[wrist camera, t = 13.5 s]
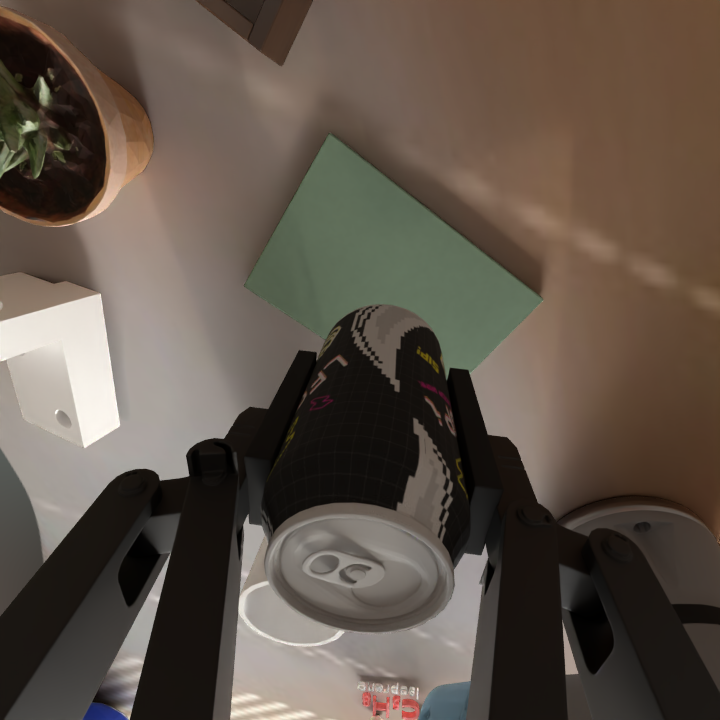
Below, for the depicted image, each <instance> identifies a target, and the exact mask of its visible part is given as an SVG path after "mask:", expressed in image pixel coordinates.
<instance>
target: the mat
mask: <svg viewBox="0 0 720 720" xmlns="http://www.w3.org/2000/svg"><path fill="white" fill-rule="evenodd" d="M244 287H246V288H247V289H249V290H250V291H252V292H253V293H255V294H256V295H258V296H259V297H261V298H262V299H264V300H265V301H267V302H268V303H270V304H272V305H273V306H275V307H276V308H278V309H279V310H281V311H282V312H284V313H285V314H287V315H288V316H290V317H291V318H293V319H294V320H296V321H297V322H299V323H301V324H302V325H304V326H305V327H307V328H308V329H310V330H311V331H313V332H314V333H316V334H317V335H319V336H320V337H322V338H323V339H325V340H326V338H327V336H328V334H329V332H330V330H331V329H332V328H333V327H334V325H335V324H336V323H337V322H338V321H339V320H340V319H341V318H343V317H344V316H345V315H346V314H348V313H350V312H352V311H354V310H356V309H358V308H361V307H365V306H368V305H377V304H385V305H394V306H398V307H401V308H405V309H407V310H409V311H411V312H413V313H415V314H417V315H418V316H419V317H420V318H422V319H423V320H424V321H426V323H427V324H428V325H429V326H430V327H431V329H432V330H433V331H434V333H435V335H436V337H437V339H438V341H439V344H440V347H441V351H442V356H443V362H444V367H445V373H446V378H447V379H448V374H449V369H450V368H458V369H467V370H469V374H470V373H471V372H472V371H473V370H474V369H475V368H476V367H477V366H478V365H479V364H480V363H481V362H482V361H483V360H484V359H485V358H486V357H487V356H488V355H489V354H490V353H491V352H492V351H493V350H494V349H495V348H496V347H497V346H498V345H499V344H500V343H501V342H502V341H503V340H504V339H505V338H506V337H507V336H508V335H509V334H510V333H511V332H512V331H513V330H514V329H515V328H516V327H517V326H518V325H519V324H520V323H521V322H522V321H523V320H524V319H525V318H526V317H527V316H528V315H529V314H530V313H531V312H532V311H533V310H534V309H535V308H536V307H537V306H538V305H539V304H540V303H541V302H542V301H543V298H542V297H541V296H539V295H538V294H537V293H536V292H534V291H533V290H532V289H531V288H529V287H528V286H527V285H525V284H524V283H523V282H522V281H520V280H519V279H518V278H516V277H515V276H514V275H513V274H511V273H510V272H509V271H507V270H506V269H505V268H504V267H502V266H501V265H500V264H498V263H497V262H496V261H495V260H493V259H492V258H491V257H489V256H488V255H487V254H486V253H484V252H483V251H482V250H480V249H479V248H478V247H477V246H475V245H474V244H473V243H471V242H470V241H469V240H468V239H466V238H465V237H464V236H462V235H461V234H460V233H459V232H457V231H456V230H455V229H453V228H452V227H451V226H450V225H448V224H447V223H446V222H444V221H443V220H442V219H441V218H439V217H438V216H437V215H435V214H434V213H433V212H432V211H430V210H429V209H428V208H427V207H425V206H424V205H423V204H421V203H420V202H419V201H418V200H416V199H415V198H414V197H412V196H411V195H410V194H409V193H407V192H406V191H405V190H403V189H402V188H401V187H400V186H398V185H397V184H396V183H394V182H393V181H392V180H391V179H389V178H388V177H387V176H385V175H384V174H383V173H382V172H380V171H379V170H378V169H376V168H375V167H374V166H373V165H371V164H370V163H369V162H367V161H366V160H365V159H364V158H362V157H361V156H360V155H358V154H357V153H356V152H355V151H353V150H352V149H351V148H349V147H348V146H347V145H346V144H344V143H343V142H342V141H340V140H339V139H338V138H337V137H335V136H334V135H333V134H331V133H329V134H328V136H327V137H326V139H325V141H324V143H323V145H322V146H321V148H320V150H319V152H318V154H317V155H316V157H315V159H314V161H313V163H312V164H311V166H310V168H309V170H308V171H307V173H306V175H305V177H304V179H303V180H302V182H301V184H300V186H299V188H298V189H297V191H296V193H295V195H294V197H293V198H292V200H291V202H290V204H289V206H288V207H287V209H286V211H285V213H284V215H283V216H282V218H281V220H280V222H279V224H278V225H277V227H276V229H275V231H274V232H273V234H272V236H271V238H270V240H269V241H268V243H267V245H266V247H265V249H264V250H263V252H262V254H261V256H260V258H259V259H258V261H257V263H256V265H255V267H254V268H253V270H252V272H251V274H250V276H249V277H248V279H247V281H246V283H245V284H244Z"/></svg>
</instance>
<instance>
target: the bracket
mask: <svg viewBox="0 0 720 720" xmlns="http://www.w3.org/2000/svg"><path fill="white" fill-rule="evenodd" d="M3 360H6V361H7V365H8V368H9V372H10V375H11V378H12V382H13V385H14V389H15V392H16V396H17V399H18V403H19V406H20V409H21V413H22V416H23V420H25V421H27V422H30V423H32V424H34V425H36V426H38V427H40V428H42V429H44V430H46V431H48V432H51V433H53V434H55V435H57V436H59V437H61V438H63V439H65V440H67V441H69V442H72V443H74V444H76V445H78V446H80V447H82V448H86V447H87V446H89V445H90V444H92V443H94V442H95V441H97V440H98V439H100V438H102V437H103V436H105V435H106V434H108V433H110V432H111V431H113V430H114V429H116V428H118V427H119V426H120V422H119V415H118V408H117V401H116V395H115V388H114V381H113V374H112V367H111V360H110V354H109V347H108V340H107V333H106V326H105V320H104V313H103V306H102V299H101V293H98V292H95V291H93V290H90V289H87V288H84V287H81V286H78V285H76V284H73V283H70V282H67V281H65V282H60V283H56V284H53V283H50V282H47V281H44V280H42V279H39V278H36V277H33V276H30V275H28V274H25V273H22V272H18V273H13V274H8V275H3V276H0V361H3Z"/></svg>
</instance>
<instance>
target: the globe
mask: <svg viewBox="0 0 720 720" xmlns="http://www.w3.org/2000/svg"><path fill="white" fill-rule="evenodd" d="M83 720H129V719H128V717H127V716H126V715H125V714H124V713H122V712H120V711H118V710H117V709H115V708H113V707H111V706H109V705H105V704H103V703H98V702H92V703H91V705H90V706H89V708H88V710H87V712H86V714H85V716H84V718H83Z"/></svg>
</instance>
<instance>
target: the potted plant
mask: <svg viewBox="0 0 720 720" xmlns="http://www.w3.org/2000/svg"><path fill="white" fill-rule="evenodd" d="M153 142H154V138H153V133H152V128H151V123H150V121H149V119H148V117H147V115H146V112H145V110H144V109H143V107H142V106H141V105H140V103H139V102H138V101H137V99H136V98H135V97H133V96H132V95H131V94H130V93H129V92H128V91H126V90H125V89H124V88H123V87H122V86H120V85H119V84H118V83H117V82H115V81H114V80H112V79H111V78H110V77H108V76H107V75H105V74H104V73H103V72H101V71H100V70H99V69H98V68H96V67H95V66H94V65H93V64H92V63H91V62H90V61H89V60H88V58H86V57H85V56H84V55H83V54H82V53H81V52H80V51H79V50H78V49H77V48H75V47H74V46H73V45H72V44H71V42H70V41H69V40H68V39H67V38H66V37H65V35H63V34H61V33H60V32H58V31H57V30H55V29H54V28H52V27H50V26H49V25H46V24H44V23H42V22H40V21H38V20H35V19H33V18H31V17H29V16H27V15H24V14H22V13H20V12H18V11H16V10H13V9H10V8H6V7H3V6H0V210H2V211H3V212H5V213H7V214H9V215H11V216H13V217H16V218H18V219H20V220H23V221H26V222H29V223H32V224H35V225H38V226H52V227H60V226H68V225H72V224H75V223H77V222H80V221H83V220H86V219H89V218H92V217H94V216H96V215H98V214H99V213H101V212H102V211H104V210H105V209H107V207H108V206H109V205H110V204H111V202H112V201H113V200H114V199H115V197H116V196H117V194H118V192H119V190H120V188H122V187H123V186H124V185H125V184H127V183H128V182H129V181H130V180H132V179H133V178H134V177H136V176H137V175H139V174H140V173H141V172H143V171H144V169H145V167H146V166H147V164H148V162H149V160H150V157H151V155H152V152H153Z"/></svg>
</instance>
